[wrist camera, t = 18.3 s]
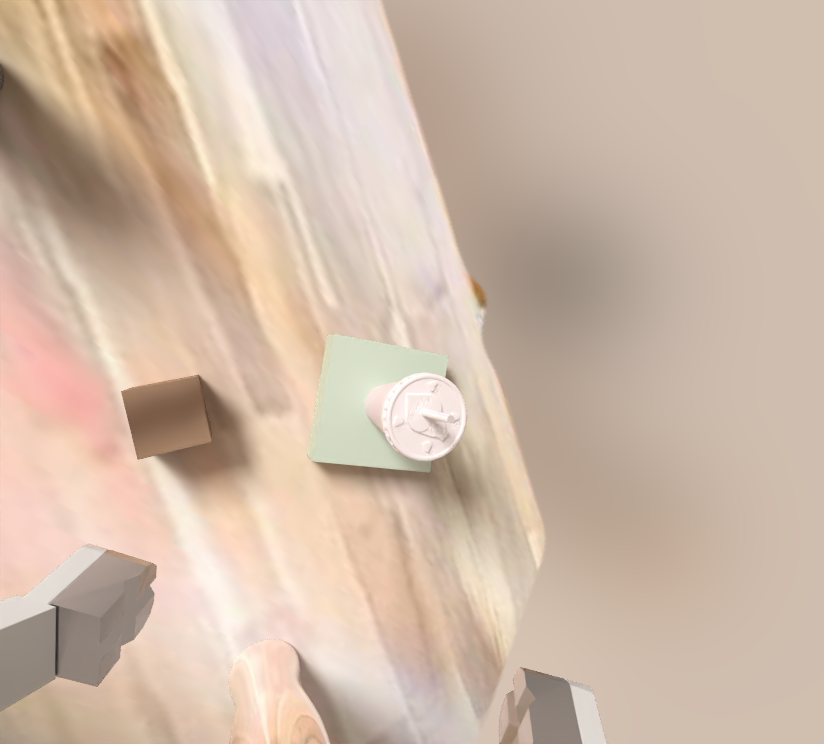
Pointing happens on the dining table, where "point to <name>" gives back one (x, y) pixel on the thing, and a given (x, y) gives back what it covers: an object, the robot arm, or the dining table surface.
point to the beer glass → (272, 698)
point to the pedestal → (362, 401)
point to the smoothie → (419, 415)
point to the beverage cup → (1, 78)
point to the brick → (167, 416)
